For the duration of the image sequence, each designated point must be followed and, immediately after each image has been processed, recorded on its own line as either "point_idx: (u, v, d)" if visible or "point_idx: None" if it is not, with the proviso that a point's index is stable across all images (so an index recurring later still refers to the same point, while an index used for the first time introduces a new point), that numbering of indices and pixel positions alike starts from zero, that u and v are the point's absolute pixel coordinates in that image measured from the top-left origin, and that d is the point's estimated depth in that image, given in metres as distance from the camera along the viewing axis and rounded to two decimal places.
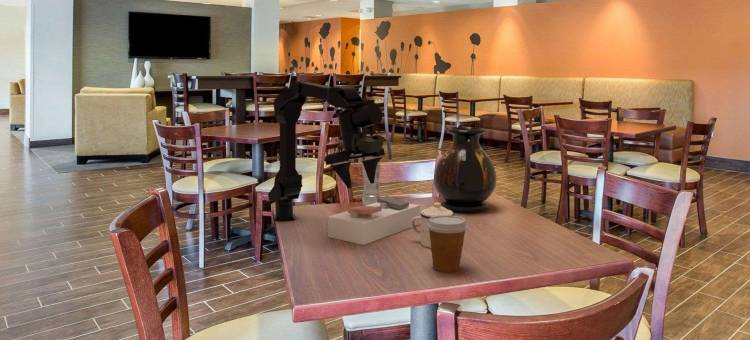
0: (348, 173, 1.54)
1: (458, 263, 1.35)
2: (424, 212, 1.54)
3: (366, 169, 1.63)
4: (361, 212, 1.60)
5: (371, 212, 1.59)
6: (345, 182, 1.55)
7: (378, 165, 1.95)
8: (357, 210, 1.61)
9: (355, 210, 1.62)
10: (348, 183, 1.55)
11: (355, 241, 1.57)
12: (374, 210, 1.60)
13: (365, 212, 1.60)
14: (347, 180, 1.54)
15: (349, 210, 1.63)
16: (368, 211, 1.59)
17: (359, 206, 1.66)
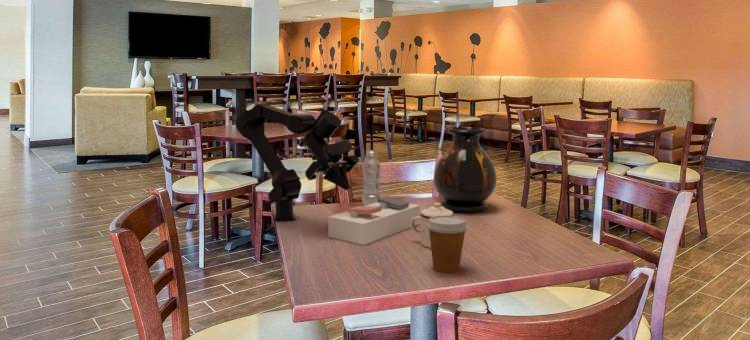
0: (341, 176, 1.66)
1: (458, 263, 1.35)
2: (424, 212, 1.54)
3: None
4: (361, 212, 1.60)
5: (371, 212, 1.59)
6: (342, 185, 1.66)
7: (378, 165, 1.95)
8: (357, 210, 1.61)
9: (355, 210, 1.62)
10: (344, 184, 1.65)
11: (355, 241, 1.57)
12: (374, 210, 1.60)
13: (365, 212, 1.60)
14: (342, 183, 1.65)
15: (349, 210, 1.63)
16: (368, 211, 1.59)
17: (359, 206, 1.66)
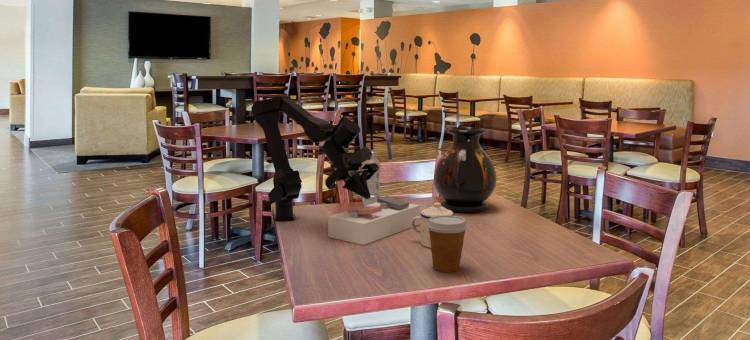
0: (361, 184, 1.61)
1: (458, 263, 1.35)
2: (424, 212, 1.54)
3: None
4: (361, 212, 1.60)
5: (371, 212, 1.59)
6: (362, 194, 1.61)
7: (378, 165, 1.95)
8: (357, 210, 1.61)
9: (355, 210, 1.62)
10: (365, 193, 1.61)
11: (355, 241, 1.57)
12: (374, 210, 1.60)
13: (365, 212, 1.60)
14: (363, 192, 1.61)
15: (349, 210, 1.63)
16: (368, 211, 1.59)
17: (359, 206, 1.66)
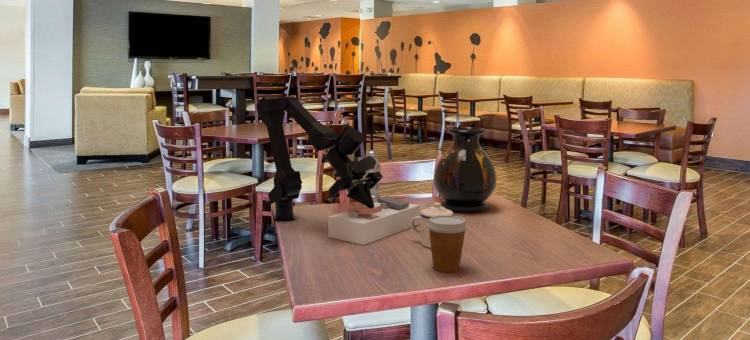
0: (365, 194, 1.61)
1: (458, 263, 1.35)
2: (424, 212, 1.54)
3: None
4: (361, 212, 1.60)
5: (371, 212, 1.59)
6: (366, 204, 1.61)
7: (378, 165, 1.95)
8: (357, 210, 1.61)
9: (355, 210, 1.62)
10: (369, 203, 1.60)
11: (355, 241, 1.57)
12: (374, 210, 1.60)
13: (365, 212, 1.60)
14: (367, 201, 1.61)
15: (349, 210, 1.63)
16: (368, 211, 1.59)
17: (359, 206, 1.66)
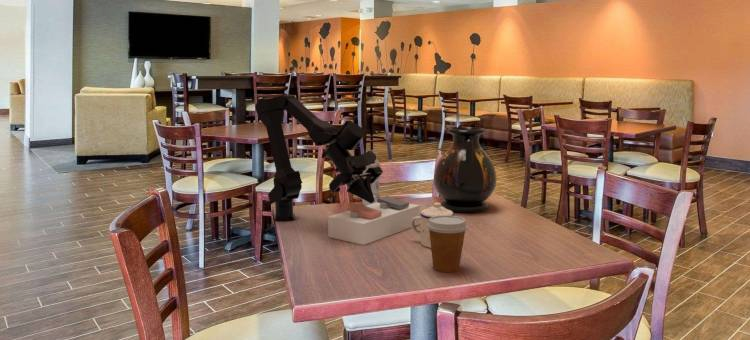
0: (365, 188, 1.60)
1: (458, 263, 1.35)
2: (424, 212, 1.54)
3: None
4: (361, 214, 1.61)
5: (371, 217, 1.59)
6: (366, 198, 1.61)
7: (378, 165, 1.95)
8: (357, 211, 1.61)
9: (355, 210, 1.62)
10: (369, 198, 1.60)
11: (355, 241, 1.57)
12: (374, 215, 1.60)
13: (365, 215, 1.60)
14: (367, 196, 1.60)
15: (349, 208, 1.63)
16: (368, 215, 1.59)
17: (359, 204, 1.66)
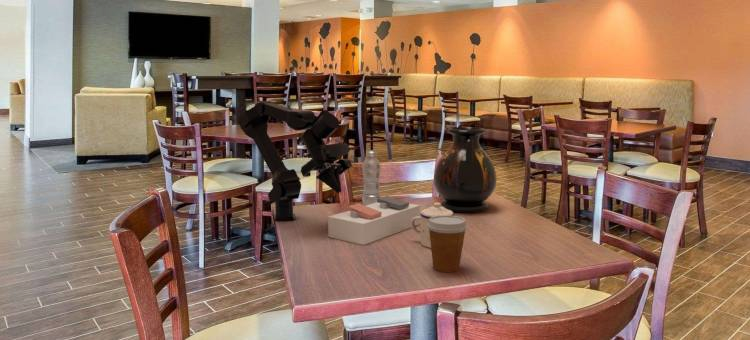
0: (335, 178, 1.66)
1: (458, 263, 1.35)
2: (424, 212, 1.54)
3: None
4: (361, 214, 1.61)
5: (371, 218, 1.59)
6: (334, 187, 1.66)
7: (378, 165, 1.95)
8: (357, 211, 1.61)
9: (355, 210, 1.62)
10: (337, 187, 1.65)
11: (355, 241, 1.57)
12: (374, 216, 1.60)
13: (365, 216, 1.60)
14: (335, 185, 1.65)
15: (349, 208, 1.63)
16: (368, 216, 1.59)
17: (360, 204, 1.66)
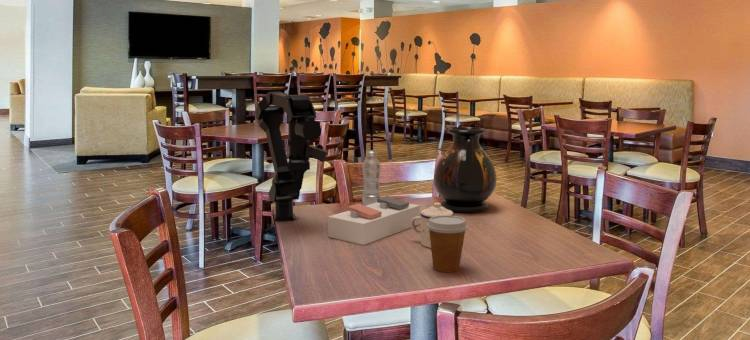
0: (303, 176, 1.70)
1: (458, 263, 1.35)
2: (424, 212, 1.54)
3: None
4: (361, 214, 1.61)
5: (371, 217, 1.59)
6: (297, 183, 1.70)
7: (378, 165, 1.95)
8: (357, 211, 1.61)
9: (355, 210, 1.62)
10: (300, 185, 1.70)
11: (355, 241, 1.57)
12: (374, 215, 1.60)
13: (365, 215, 1.60)
14: (300, 182, 1.70)
15: (349, 208, 1.63)
16: (368, 216, 1.59)
17: (359, 204, 1.66)
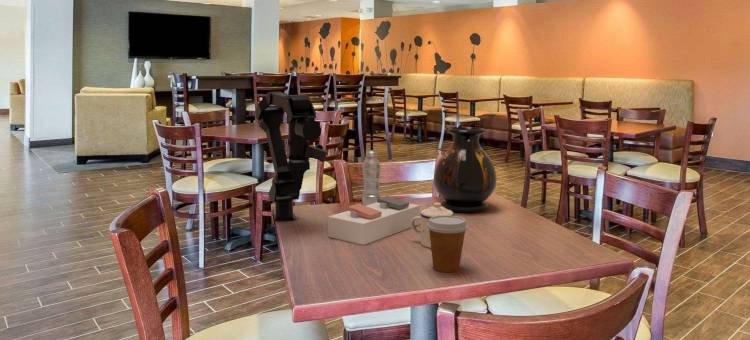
0: None
1: (458, 263, 1.35)
2: (424, 212, 1.54)
3: None
4: (361, 214, 1.61)
5: (371, 217, 1.59)
6: (297, 183, 1.70)
7: (378, 165, 1.95)
8: (357, 211, 1.61)
9: (355, 210, 1.62)
10: (300, 185, 1.70)
11: (355, 241, 1.57)
12: (374, 215, 1.60)
13: (365, 215, 1.60)
14: (300, 182, 1.70)
15: (349, 208, 1.63)
16: (368, 215, 1.59)
17: (359, 204, 1.66)
